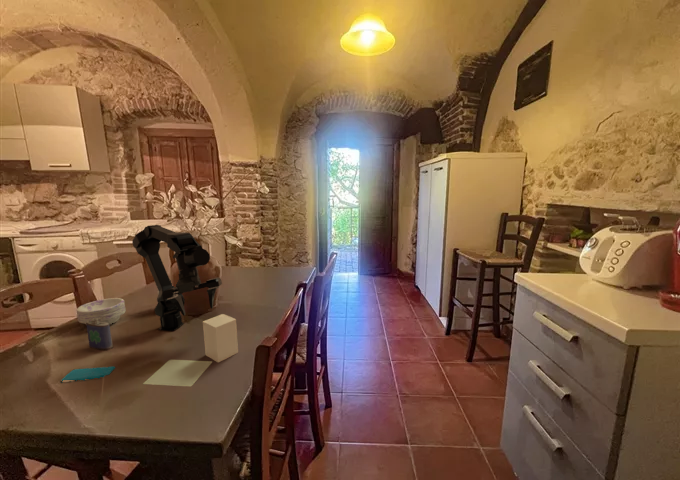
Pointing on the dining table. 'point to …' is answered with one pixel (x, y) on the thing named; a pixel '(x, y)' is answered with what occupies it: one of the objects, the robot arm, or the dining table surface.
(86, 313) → the paper bowls
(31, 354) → the dining table surface
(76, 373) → the sponge
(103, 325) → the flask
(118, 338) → the dining table surface
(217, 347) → the upright cream box
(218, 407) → the dining table surface
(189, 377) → the mat
